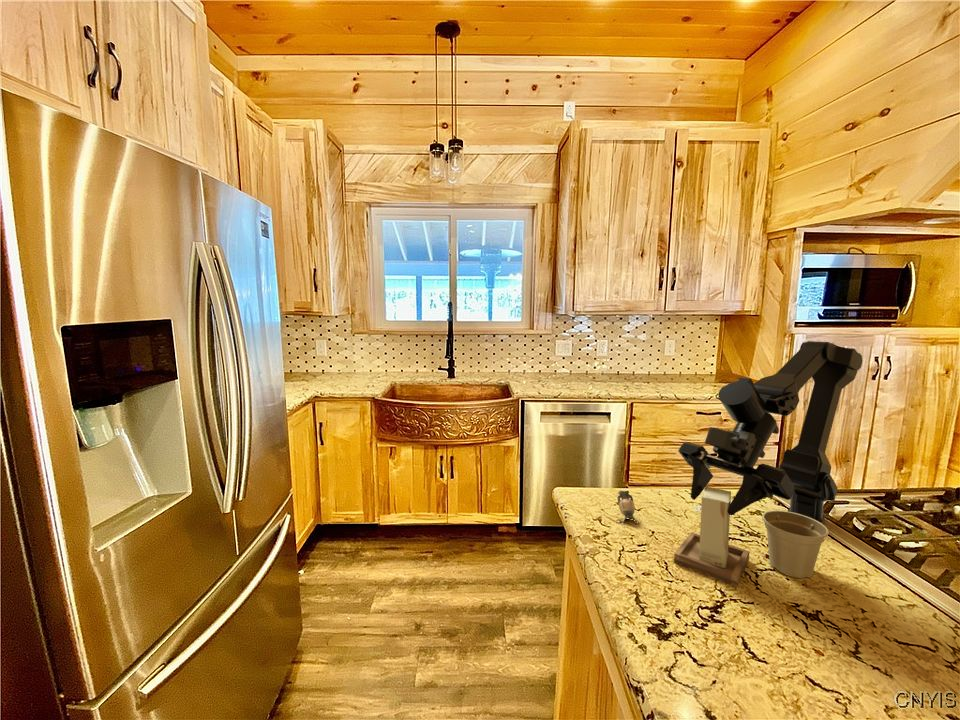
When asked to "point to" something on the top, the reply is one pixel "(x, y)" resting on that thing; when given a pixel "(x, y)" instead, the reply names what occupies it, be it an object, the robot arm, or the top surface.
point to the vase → (626, 505)
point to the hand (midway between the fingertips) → (710, 505)
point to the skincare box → (714, 526)
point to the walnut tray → (690, 559)
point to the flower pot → (793, 542)
